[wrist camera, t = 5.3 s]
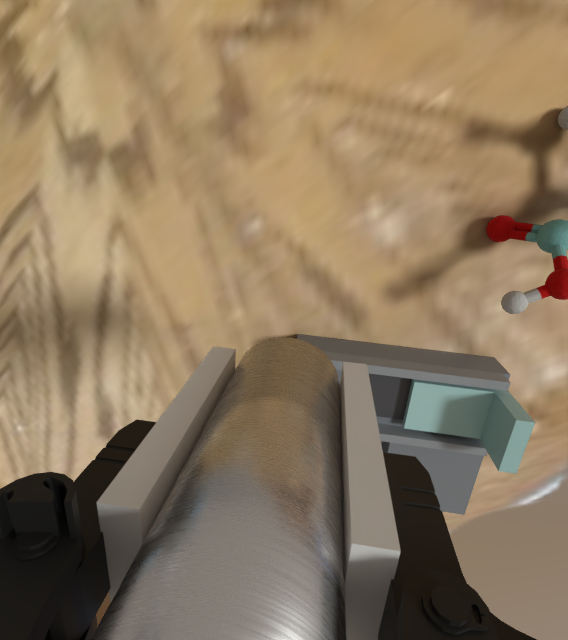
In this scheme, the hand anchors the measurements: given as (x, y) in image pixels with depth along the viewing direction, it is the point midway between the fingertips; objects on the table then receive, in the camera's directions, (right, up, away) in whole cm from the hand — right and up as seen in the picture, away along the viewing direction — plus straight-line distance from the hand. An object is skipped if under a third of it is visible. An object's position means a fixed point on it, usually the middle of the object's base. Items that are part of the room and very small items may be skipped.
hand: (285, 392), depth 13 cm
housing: (+7, -5, +17) cm, 19 cm away
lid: (+11, -3, +13) cm, 17 cm away
